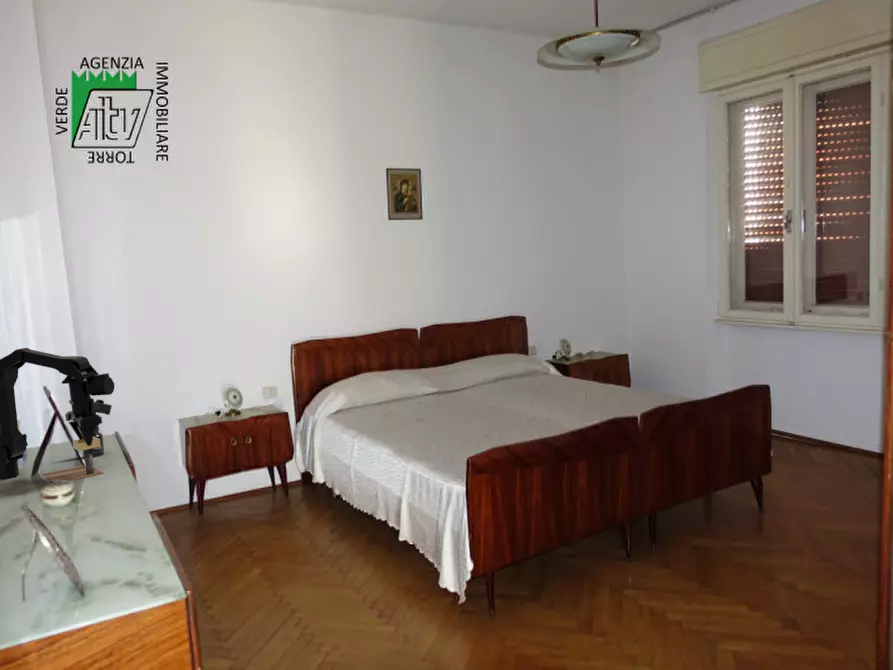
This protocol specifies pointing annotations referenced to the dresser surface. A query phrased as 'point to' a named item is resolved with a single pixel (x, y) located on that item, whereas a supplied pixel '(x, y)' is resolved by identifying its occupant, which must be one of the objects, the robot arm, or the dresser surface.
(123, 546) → the dresser surface
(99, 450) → the supplement bottle
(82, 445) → the wooden square frame
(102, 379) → the robot arm
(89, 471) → the keeper board
